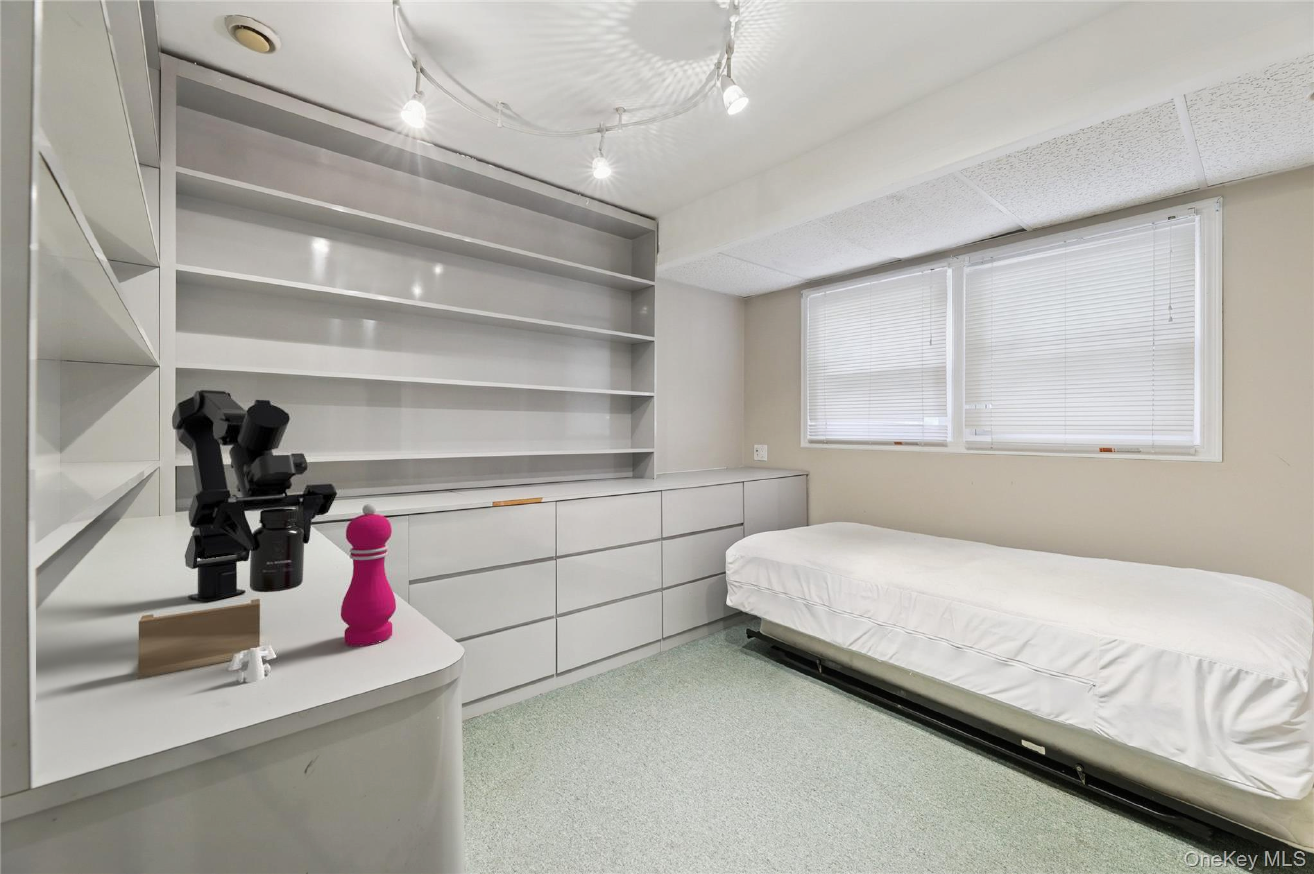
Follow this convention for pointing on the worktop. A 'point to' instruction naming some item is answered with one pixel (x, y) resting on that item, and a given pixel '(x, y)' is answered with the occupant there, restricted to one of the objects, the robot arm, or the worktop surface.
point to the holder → (196, 638)
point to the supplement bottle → (277, 552)
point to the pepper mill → (368, 581)
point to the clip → (252, 663)
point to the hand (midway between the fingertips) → (281, 545)
